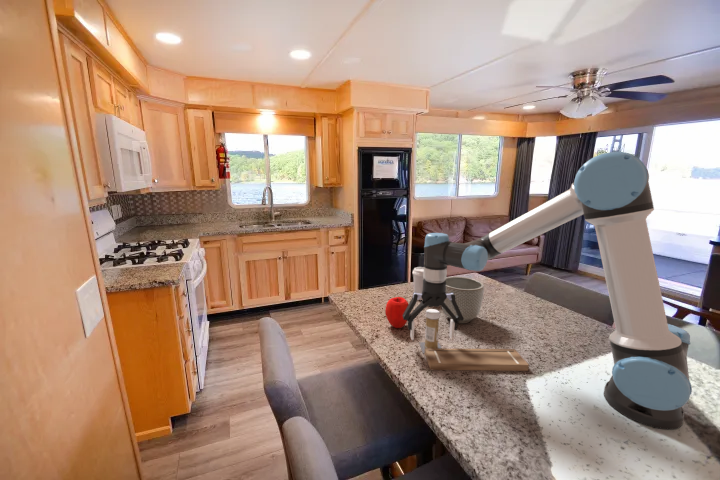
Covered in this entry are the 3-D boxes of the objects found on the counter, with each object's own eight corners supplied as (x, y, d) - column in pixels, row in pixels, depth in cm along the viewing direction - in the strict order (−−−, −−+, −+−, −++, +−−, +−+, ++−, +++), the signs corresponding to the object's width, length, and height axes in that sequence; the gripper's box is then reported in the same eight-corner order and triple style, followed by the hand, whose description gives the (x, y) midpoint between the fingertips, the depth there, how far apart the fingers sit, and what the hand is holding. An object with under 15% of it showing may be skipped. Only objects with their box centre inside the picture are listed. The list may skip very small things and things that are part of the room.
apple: (391, 318, 130) (392, 291, 127) (413, 324, 125) (414, 295, 122) (380, 328, 121) (381, 298, 119) (403, 334, 116) (404, 304, 114)
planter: (430, 318, 130) (432, 282, 127) (452, 307, 142) (454, 274, 139) (467, 332, 118) (470, 293, 115) (489, 319, 129) (492, 283, 126)
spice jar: (440, 348, 106) (442, 312, 103) (431, 352, 104) (433, 315, 101) (430, 342, 110) (432, 307, 107) (421, 346, 107) (423, 310, 105)
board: (528, 370, 94) (528, 364, 94) (430, 369, 94) (430, 363, 94) (514, 354, 103) (514, 348, 103) (424, 353, 103) (424, 348, 103)
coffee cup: (433, 297, 154) (435, 268, 151) (427, 303, 146) (428, 273, 143) (415, 293, 159) (416, 265, 156) (408, 299, 151) (409, 270, 148)
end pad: (443, 353, 103) (443, 353, 103) (423, 353, 103) (423, 352, 103) (438, 343, 110) (438, 342, 110) (419, 342, 110) (419, 342, 110)
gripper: (468, 276, 106) (464, 333, 110) (395, 275, 106) (394, 332, 110) (476, 283, 98) (471, 344, 102) (398, 282, 98) (396, 343, 102)
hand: (431, 338), depth 106 cm, fingers open, 13 cm apart
